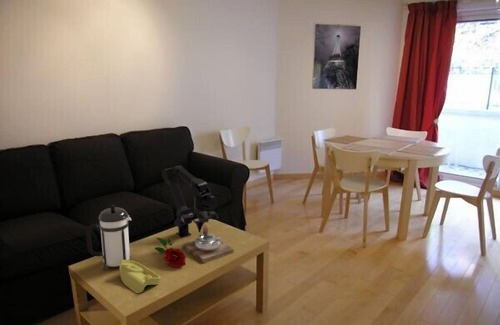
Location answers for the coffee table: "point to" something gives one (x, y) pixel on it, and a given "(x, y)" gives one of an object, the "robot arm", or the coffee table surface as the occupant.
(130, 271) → the plastic component
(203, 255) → the square disc baseplate
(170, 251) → the flower
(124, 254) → the coffee press
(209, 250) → the round disc with cubes
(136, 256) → the coffee table surface
